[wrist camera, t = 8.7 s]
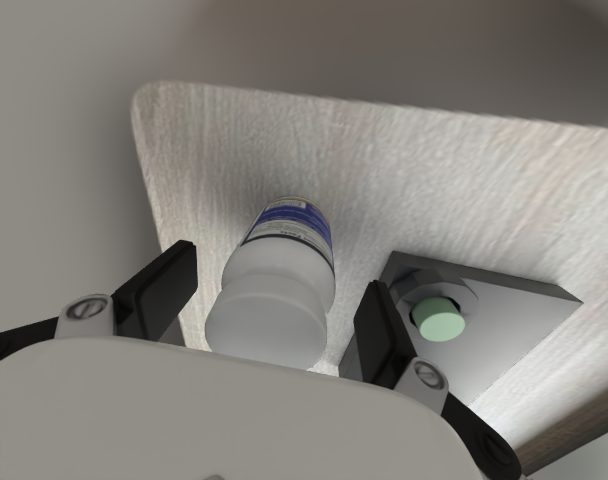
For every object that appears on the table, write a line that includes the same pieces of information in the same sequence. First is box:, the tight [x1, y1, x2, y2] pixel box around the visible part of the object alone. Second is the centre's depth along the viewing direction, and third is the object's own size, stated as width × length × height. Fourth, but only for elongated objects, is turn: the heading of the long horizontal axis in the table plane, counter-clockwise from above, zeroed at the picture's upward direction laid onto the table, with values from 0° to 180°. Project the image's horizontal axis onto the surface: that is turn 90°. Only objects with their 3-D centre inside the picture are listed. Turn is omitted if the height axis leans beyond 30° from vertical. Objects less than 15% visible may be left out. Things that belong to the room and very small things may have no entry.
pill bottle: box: [205, 196, 336, 370], centre depth 13 cm, size 6×6×10 cm
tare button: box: [412, 296, 465, 342], centre depth 15 cm, size 3×3×2 cm
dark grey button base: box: [338, 251, 584, 406], centre depth 20 cm, size 16×14×4 cm
